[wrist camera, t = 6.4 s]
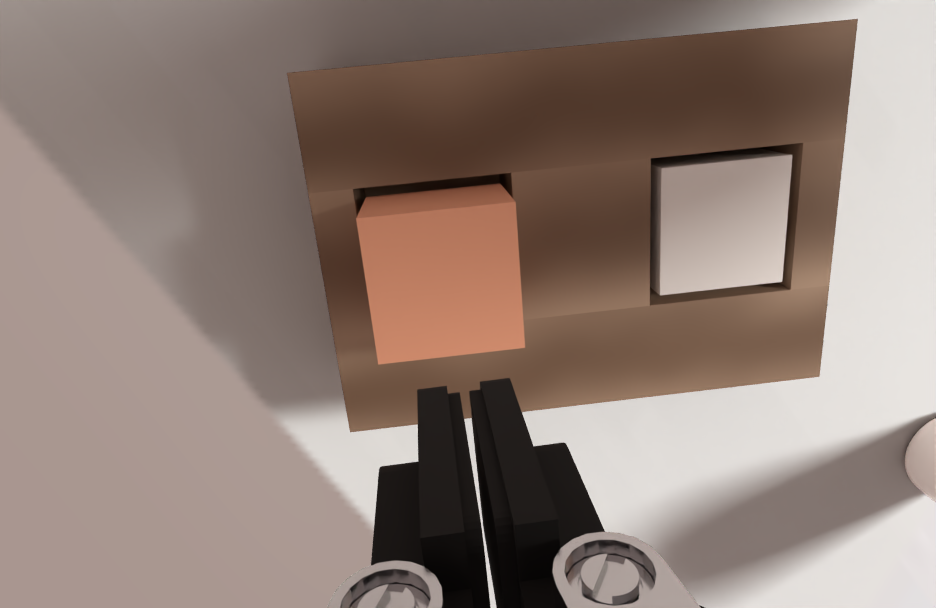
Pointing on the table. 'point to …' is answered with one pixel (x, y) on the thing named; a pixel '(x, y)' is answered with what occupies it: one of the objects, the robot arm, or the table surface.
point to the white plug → (718, 219)
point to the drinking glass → (923, 459)
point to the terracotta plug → (442, 272)
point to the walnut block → (584, 205)
